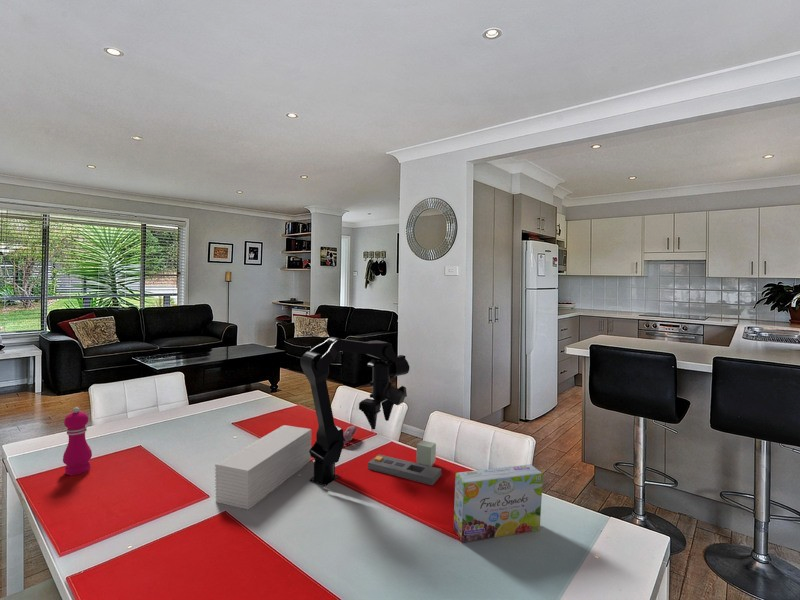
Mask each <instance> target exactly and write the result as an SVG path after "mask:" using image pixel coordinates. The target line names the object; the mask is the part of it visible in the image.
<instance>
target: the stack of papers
mask: <svg viewBox="0 0 800 600" xmlns="http://www.w3.org/2000/svg"><path fill="white" fill-rule="evenodd" d="M311 448H312V429H311V428H306V427H299V426H292V425H285V424H283V425H281V426H280V427H278V428H276V429H274V430H273V431H270V432H269V433H268V434H265V435H264V436H262V437H260V438H259V439H257V440H255V441H253V442H252V443H250V444H248V445H246V446H245V447H243V448H241V449H240V450H238V451H236V452H234V453H232V454H231V455H229V456H227V457H226V458H224V459H222V460H220V461H219V462H216V463H215V465H214V467H215V468H214V470H215V471H214V474H215V476H214V477H215V486H214V487H215V503H218V504H222V505H223V504H224V505H228V506H231V507H235V508H241V509H244V510H250V509H251V508H252V507H254V506H255V505H256V504H257V503H259V502H260V501H261V500H262V499H264V498H265V497H267V495H269V494H270V493H271V492H272V491H274V490H275V489H276V488H277V487H279V486H280V485H281V484H283V483H284V482H285V481H286V480H288V479H289V478H291V477H292V476H293V475H294V474H295V473H296V472H298V471H299V470H301V468H303V467H304V466H305V465H307V464H308V463H309V462H311V460H312V457H311V455H310V453H309V450H310V449H311ZM310 459H311V460H310Z"/></svg>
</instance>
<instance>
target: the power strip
mask: <svg viewBox="0 0 800 600" xmlns="http://www.w3.org/2000/svg"><path fill="white" fill-rule="evenodd" d="M367 469H368V470H370V471H374V472H378V473H383V474H386V475H391V476H394V477H399V478H401V479H402V478H403V479H406V480H410V481H413V482H418V483H422V484H426V485H430V486H433V485H434V484H435V483H436V482H437V481H439V478H440V477H441V476H442V468H438V467H434V466H426V465H422V464H418V463H416V462H413V461H408V460H406V459H405V460H404V459H399V458H396V457H392V456H387V455H384V454H377V455H376V456H375V457H373V458H372V459H370V460H369V461H368V462H367Z"/></svg>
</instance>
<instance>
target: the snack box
mask: <svg viewBox="0 0 800 600" xmlns="http://www.w3.org/2000/svg"><path fill="white" fill-rule="evenodd" d="M543 478H544V473H543V472H542V471H540V470H539V469H538V468H537V467H535V466H534V465H533V464H524V465H523V464H522V465H513V466H504V467H496V468H487V469H478V470H472V471H471V470H470V471H469V470H468V471H461V472H460V471H459V472H455V477H454V479H455V480H454V502H453V503H454V506H453V507H454V508H453V531H454V533H455V532H456V533H457V535H458V536H459V538H460V539H459V538H458V539H459V541H460V540H461V541H460V542H461V544H462V543H467V542H468V543H469V542H474V541H480V540H487V539H493V538H499V537H506V536H507V537H508V536H510V535H511V536H512V535H519V534H525V533H531V532H537V531H540V530H541V515H542V514H541V513H542V500H543V499H542V497H543V484H544V483H543V482H544V481H543V480H544V479H543ZM456 533H455V534H456ZM457 535H456V536H457ZM458 536H457V537H458Z"/></svg>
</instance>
